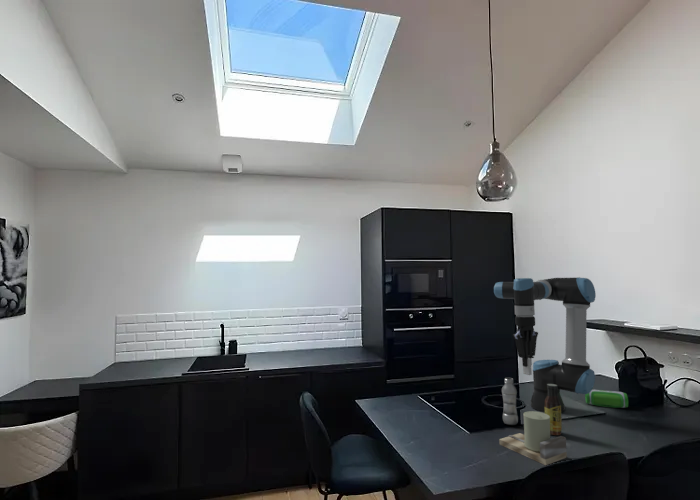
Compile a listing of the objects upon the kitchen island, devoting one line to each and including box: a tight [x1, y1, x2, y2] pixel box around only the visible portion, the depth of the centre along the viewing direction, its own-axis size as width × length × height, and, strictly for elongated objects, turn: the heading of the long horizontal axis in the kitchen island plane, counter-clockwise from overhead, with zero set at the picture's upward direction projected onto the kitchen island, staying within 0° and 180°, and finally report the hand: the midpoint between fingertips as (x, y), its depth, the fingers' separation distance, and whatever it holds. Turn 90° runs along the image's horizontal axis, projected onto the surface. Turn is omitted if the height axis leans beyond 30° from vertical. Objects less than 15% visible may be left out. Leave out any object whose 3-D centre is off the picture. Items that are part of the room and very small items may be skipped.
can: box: [523, 410, 551, 452], centre depth 150 cm, size 9×9×12 cm
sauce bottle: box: [544, 384, 563, 436], centre depth 168 cm, size 6×6×20 cm
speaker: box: [584, 389, 629, 409], centre depth 200 cm, size 18×7×8 cm, turn 66°
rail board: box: [498, 432, 568, 466], centre depth 152 cm, size 20×12×7 cm, turn 29°
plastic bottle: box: [501, 377, 519, 426], centre depth 179 cm, size 6×7×20 cm
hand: (527, 374), depth 163 cm, fingers closed
